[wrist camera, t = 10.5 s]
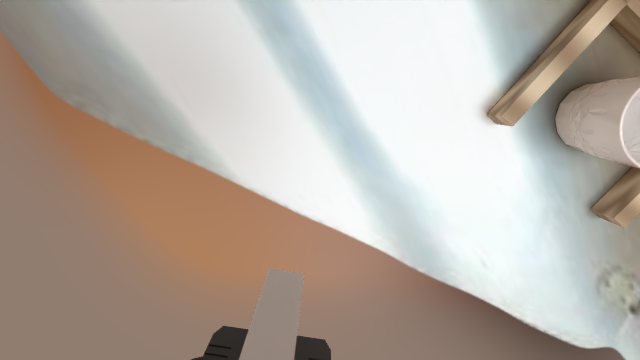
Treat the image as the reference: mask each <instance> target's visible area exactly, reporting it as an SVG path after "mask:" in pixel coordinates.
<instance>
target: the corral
mask: <svg viewBox="0 0 640 360" xmlns="http://www.w3.org/2000/svg"><path fill="white" fill-rule="evenodd" d="M609 23H610V24H611V25H612V26H613V27H614V28H615V29H616V30H617V31H618V32H619V33H620V34H621V35H622V36H623V37H624V38H625V39H626V40H627V41H628V42H629V43H630V44H631V45H632V46H633V47H634V48H635V49H636V50H637V51H638V52H639V53H640V0H591V1H590V2H589V3H588V4H587V5H586V6H585V8H584V9H583V10H582V11H581V12H580V13H579V14H578V15H577V16H576V17H575V18H574V20H573V21H572V22H571V23H570V24H569V25H568V26H567V27H566V28H565V29H564V30H563V32H562V33H561V34H560V35H559V36H558V37H557V38H556V39H555V40H554V41H553V43H552V44H551V45H550V46H549V47H548V48H547V49H546V50H545V51H544V52H543V53H542V55H541V56H540V57H539V58H538V59H537V60H536V61H535V62H534V63H533V64H532V65H531V67H530V68H529V69H528V70H527V71H526V72H525V73H524V74H523V75H522V76H521V77H520V79H519V80H518V81H517V82H516V83H515V84H514V85H513V86H512V87H511V88H510V90H509V91H508V92H507V93H506V94H505V95H504V96H503V97H502V98H501V99H500V100H499V102H498V103H497V104H496V105H495V106H494V107H493V108H492V109H491V110H490V111H489V112H488V114H487V116H489V117H490V118H491V119H492V120H493V121H494V122H495V123H496V124H500V125H507V126H514V124H515V123H516V122H517V121H518V120H519V119H520V118H521V117H522V116H523V115H524V114H525V113H526V112H527V111H528V109H529V108H530V107H531V106H532V105H533V104H534V103H535V102H536V101H537V100H538V99H539V98H540V97H541V96H542V94H543V93H544V92H545V91H546V90H547V89H548V88H549V87H550V86H551V85H552V84H553V83H554V82H555V81H556V80H557V78H558V77H559V76H560V75H561V74H562V73H563V72H564V71H565V70H566V69H567V68H568V67H569V66H570V65H571V63H572V62H573V61H574V60H575V59H576V58H577V57H578V56H579V55H580V54H581V53H582V52H583V51H584V50H585V48H586V47H587V46H588V45H589V44H590V43H591V42H592V41H593V40H594V39H595V38H596V37H597V36H598V35H599V34H600V32H601V31H602V30H603V29H604V28H605V27H606V26H607V25H608V24H609ZM591 210H592V211H593V212H594V213H595V214H597V215H598V216H599V217H600V218H602V219H605V220H607V221H609V222H612V223H614V224H616V225H618V226H621V227H623V228H624V227H625V226H626V225H627V224H628V223H629V222H630V221H632V220H633V219H634V218H635V217H636V216H637V215H638V214H639V213H640V169H639V168H635V167H632V168H631V169H630V170H629V171H628V172H627V173H626V174H625V175H624V176H623V177H622V178H621V179H620V180H619V181H618V182H617V183H616V184H615V185H614V186H613V187H612V188H611V189H610V190H609V191H608V192H607V193H606V194H605V195H604V196H603V197H602V198H601V199H600V200H599V201H598V202H597V203H596V204H595V205H594V206H593V207H592V208H591Z"/></svg>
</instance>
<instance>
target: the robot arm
mask: <svg viewBox="0 0 640 360" xmlns="http://www.w3.org/2000/svg"><path fill="white" fill-rule="evenodd" d="M303 280H304V273H297V272H290V271H284V270H277V269H271V268H269V270H268V273H267V276H266V279H265V282H264V285H263V288H262V291H261V294H260V297H259V300H258V303H257V306H256V309H255V312H254V315H253V318H252V321H251V324H250V327H249V330H248V329H241V328H235V327H227V326H223V327H222V328H220V329H219V330H218V331H217V332H215V333H214V334H213V336H212V338H211V340H210V342H209V345H208V346H207V349H206V351H205V353H204V355H203V357H199V358H194V359H192V360H331V350H330V348H329V346H328V345H327V343H326V341H325V340H323V339H316V338H309V337H303V336H297V331H298V322H299V314H300V306H301V297H302V289H303Z"/></svg>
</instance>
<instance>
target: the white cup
mask: <svg viewBox="0 0 640 360" xmlns="http://www.w3.org/2000/svg"><path fill="white" fill-rule="evenodd" d="M555 120H556V128H557V133H558V135H559V136H560V137H561V139H562V140H563V141H564V143H565V144H566V145H568V146H571V147H573V148H575V149H577V150H579V151H583V152H586V153H588V154H591V155H594V156H597V157H601V158H604V159H607V160H610V161H614V162H617V163H621V164H625V165H628V166H632V167H635V168H639V169H640V76H634V77H627V78H621V79H614V80H608V81H605V82H601V83H593V84H585V85H583V86H581V87H579V88H577V89H575V90H573V91H571V92H570V93H569V94H568V95H567V96H566V97H565V99H564V100H563V101H562V102H561V103H560V105H559V108H558V111H557V114H556V118H555Z"/></svg>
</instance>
